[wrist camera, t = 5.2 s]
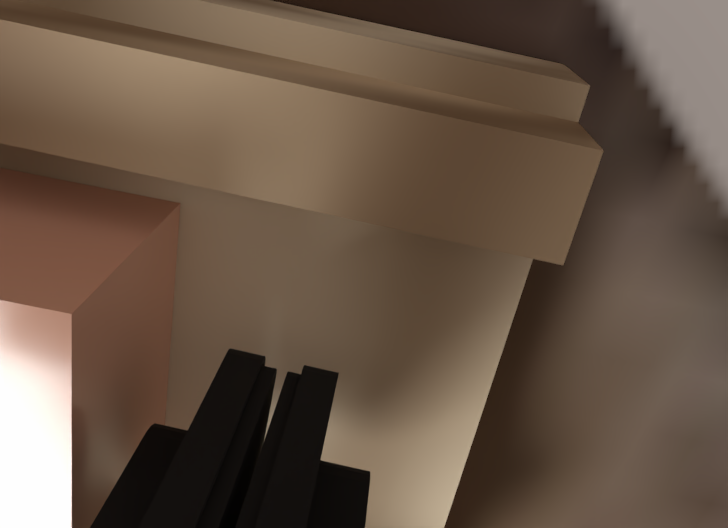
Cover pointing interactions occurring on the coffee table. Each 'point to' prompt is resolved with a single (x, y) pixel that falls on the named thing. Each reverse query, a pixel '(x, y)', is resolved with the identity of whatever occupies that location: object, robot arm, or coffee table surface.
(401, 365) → the wooden tray
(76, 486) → the tile
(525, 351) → the coffee table surface
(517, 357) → the coffee table surface
